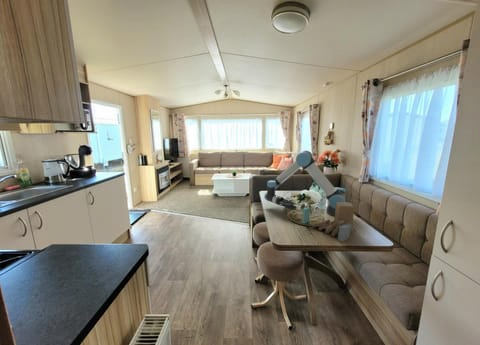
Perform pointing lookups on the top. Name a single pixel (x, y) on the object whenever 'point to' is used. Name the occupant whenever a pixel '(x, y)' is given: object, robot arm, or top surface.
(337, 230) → the domino
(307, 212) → the domino
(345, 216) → the block
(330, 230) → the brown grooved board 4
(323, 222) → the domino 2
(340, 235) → the end stop
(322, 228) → the domino
